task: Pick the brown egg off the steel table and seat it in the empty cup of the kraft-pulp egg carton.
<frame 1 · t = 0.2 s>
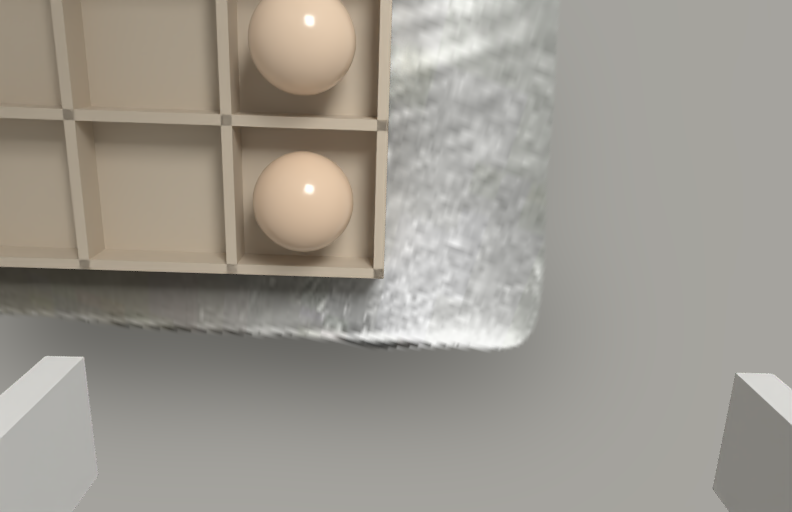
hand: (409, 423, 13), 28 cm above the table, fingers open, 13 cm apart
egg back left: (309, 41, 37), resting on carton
carton: (163, 113, 39), on the table
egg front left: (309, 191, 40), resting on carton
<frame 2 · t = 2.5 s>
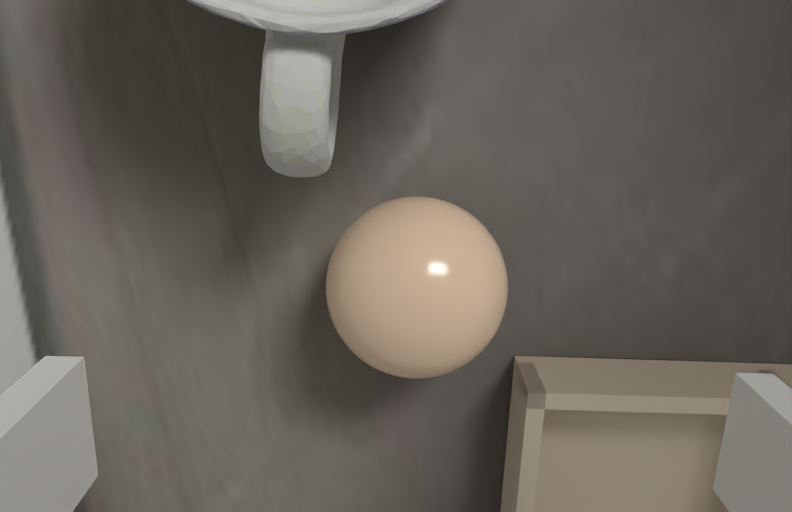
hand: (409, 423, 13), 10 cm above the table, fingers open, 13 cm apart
egg: (414, 259, 23), on the table
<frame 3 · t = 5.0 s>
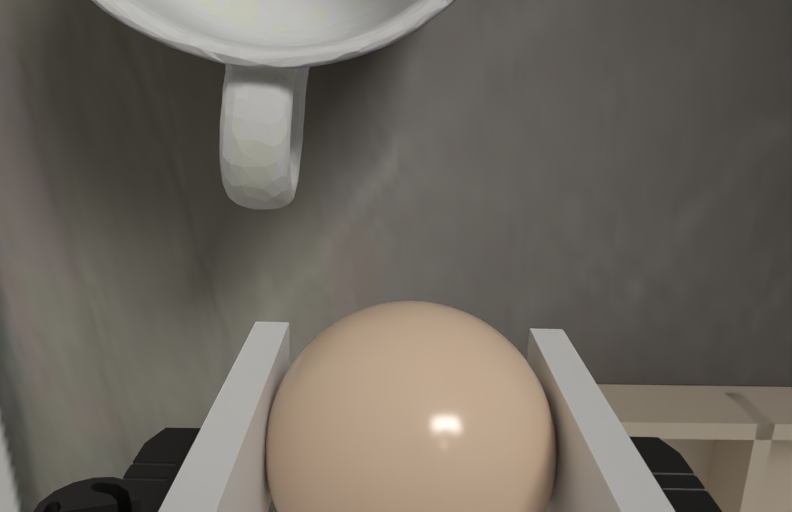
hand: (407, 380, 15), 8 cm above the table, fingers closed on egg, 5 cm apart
egg: (406, 377, 16), point 8 cm above the table, touching gripper
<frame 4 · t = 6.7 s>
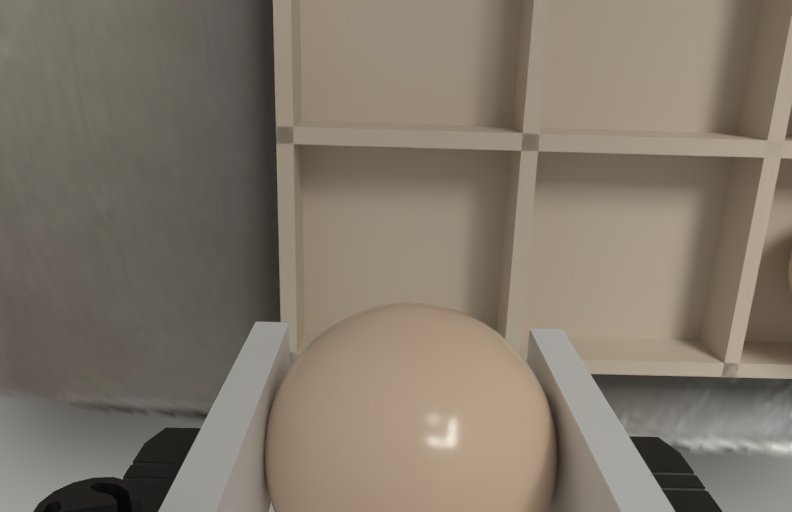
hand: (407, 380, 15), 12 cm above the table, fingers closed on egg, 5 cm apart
carton: (626, 136, 26), on the table
egg: (406, 379, 16), point 12 cm above the table, touching gripper
when the fingers open (3 cm above the table, at t = 8.7 s): egg stays where it is, resting on carton.
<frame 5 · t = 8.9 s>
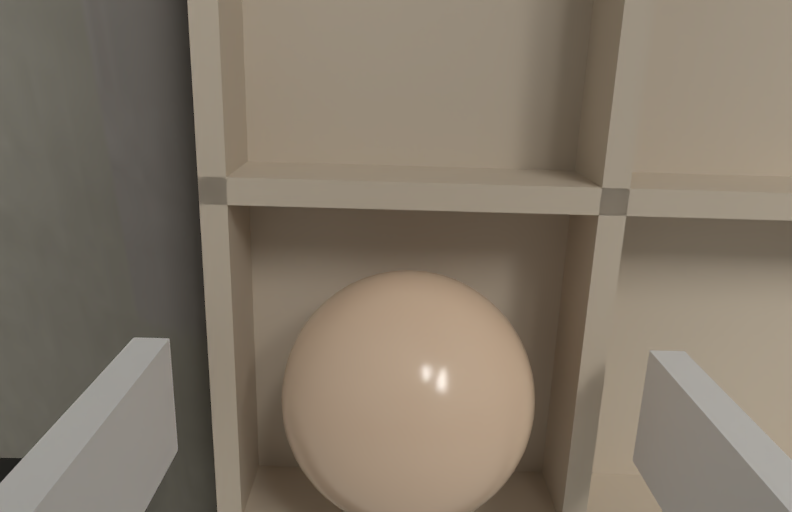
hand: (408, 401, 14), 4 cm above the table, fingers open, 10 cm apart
carton: (748, 184, 17), on the table
egg: (404, 343, 17), resting on carton
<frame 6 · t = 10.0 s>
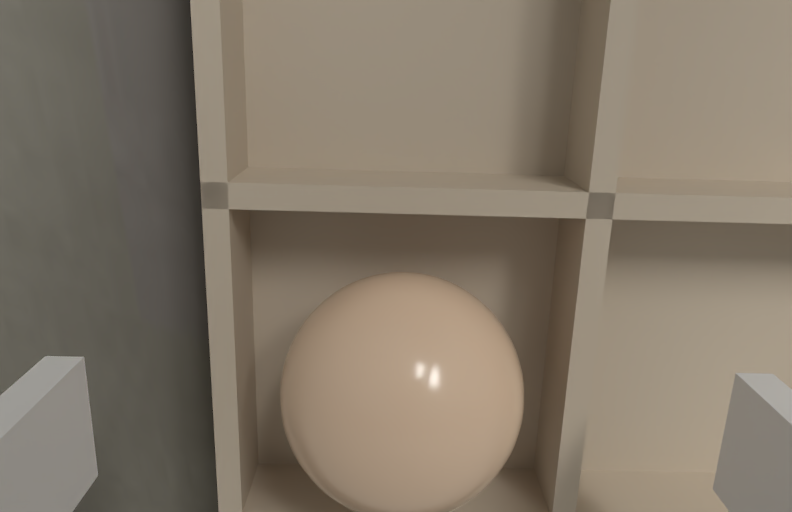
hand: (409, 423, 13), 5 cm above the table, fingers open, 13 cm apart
carton: (731, 188, 17), on the table
egg: (400, 343, 18), resting on carton
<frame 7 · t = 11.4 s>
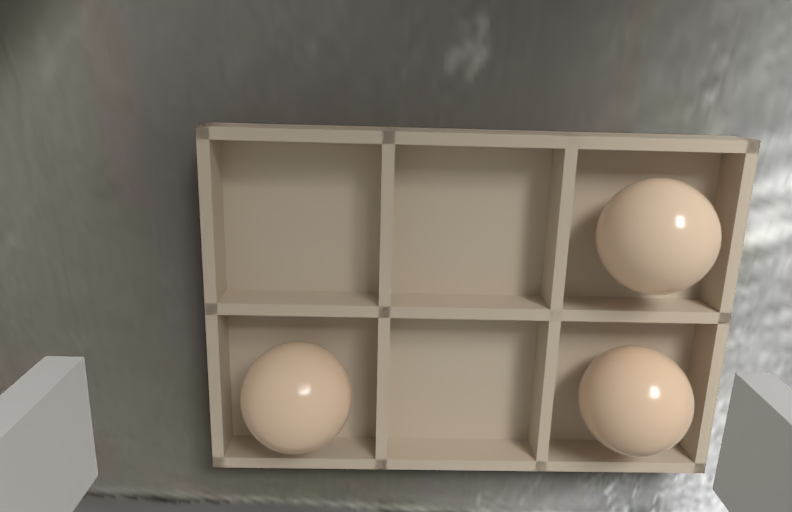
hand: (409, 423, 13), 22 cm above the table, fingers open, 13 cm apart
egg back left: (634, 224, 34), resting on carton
carton: (464, 296, 36), on the table
egg: (303, 373, 36), resting on carton
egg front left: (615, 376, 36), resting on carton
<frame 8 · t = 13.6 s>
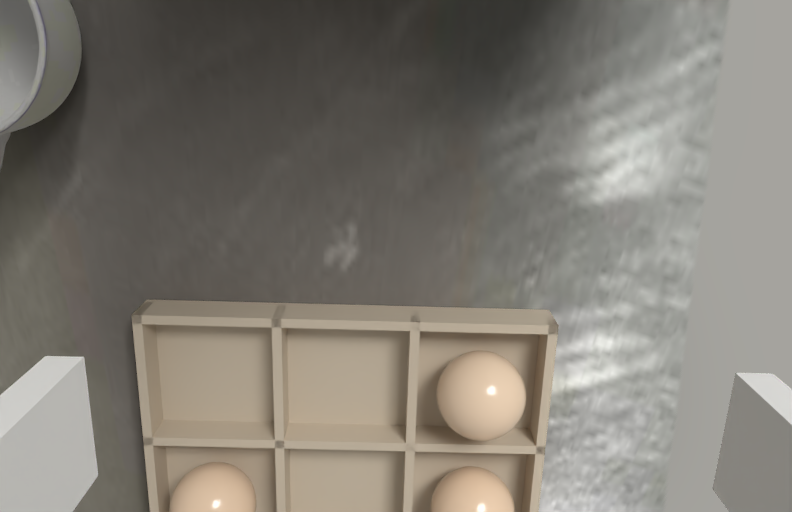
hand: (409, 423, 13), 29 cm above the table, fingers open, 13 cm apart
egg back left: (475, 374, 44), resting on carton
teacup: (13, 64, 39), on the table
carton: (347, 423, 46), on the table
egg: (224, 480, 47), resting on carton
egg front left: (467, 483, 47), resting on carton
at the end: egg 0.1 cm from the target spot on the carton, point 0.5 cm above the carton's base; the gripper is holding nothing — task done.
